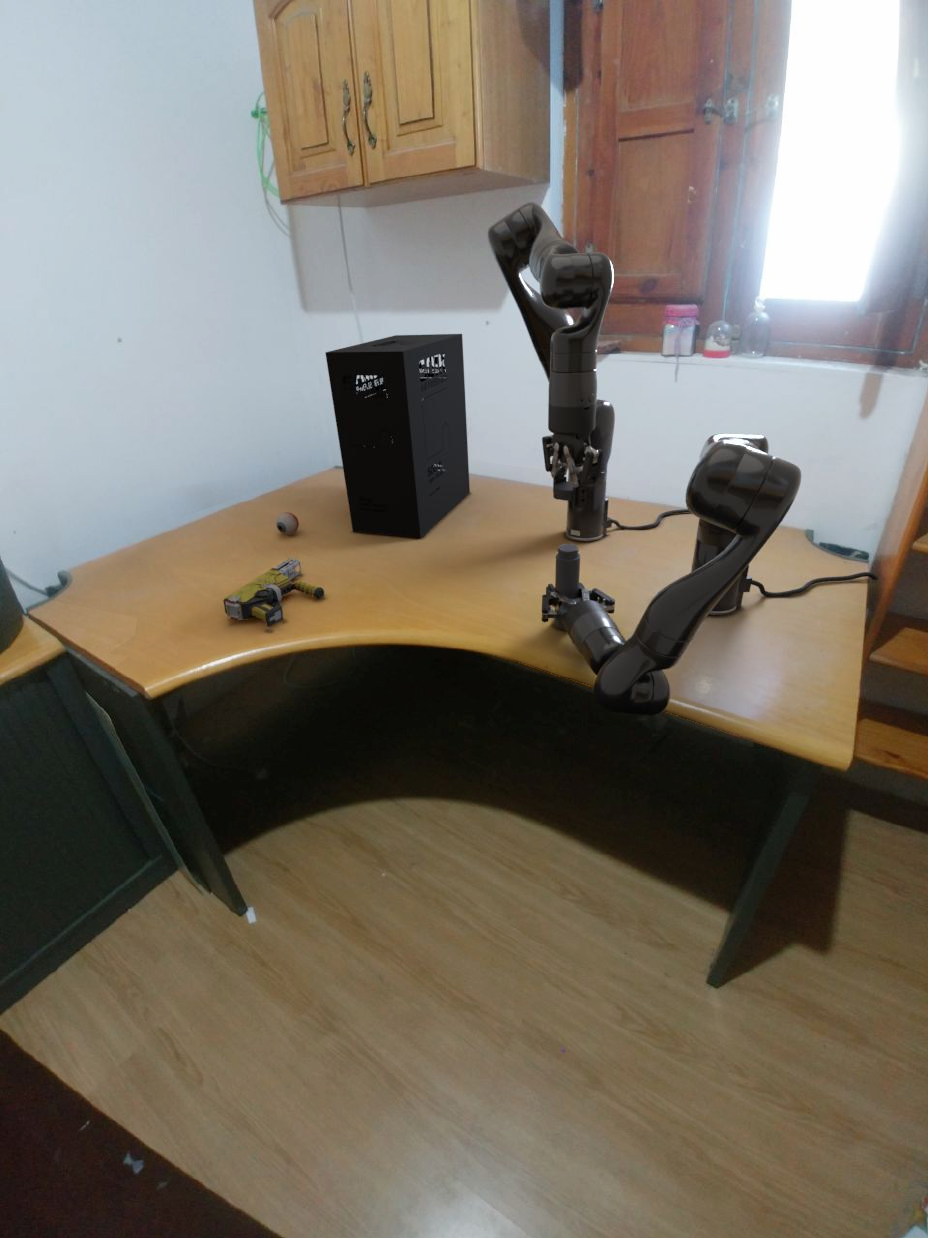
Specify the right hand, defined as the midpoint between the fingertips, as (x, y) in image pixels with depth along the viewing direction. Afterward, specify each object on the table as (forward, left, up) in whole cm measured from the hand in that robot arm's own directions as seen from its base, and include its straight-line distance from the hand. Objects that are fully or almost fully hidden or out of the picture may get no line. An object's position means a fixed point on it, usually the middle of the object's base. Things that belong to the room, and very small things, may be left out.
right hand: (562, 586), depth 115 cm
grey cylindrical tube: (0, +3, -7) cm, 7 cm away
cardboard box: (+22, -70, -7) cm, 74 cm away
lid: (0, +3, +20) cm, 21 cm away
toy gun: (+55, -22, -7) cm, 59 cm away
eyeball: (+58, -62, -7) cm, 85 cm away
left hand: (0, +3, +18) cm, 18 cm away
